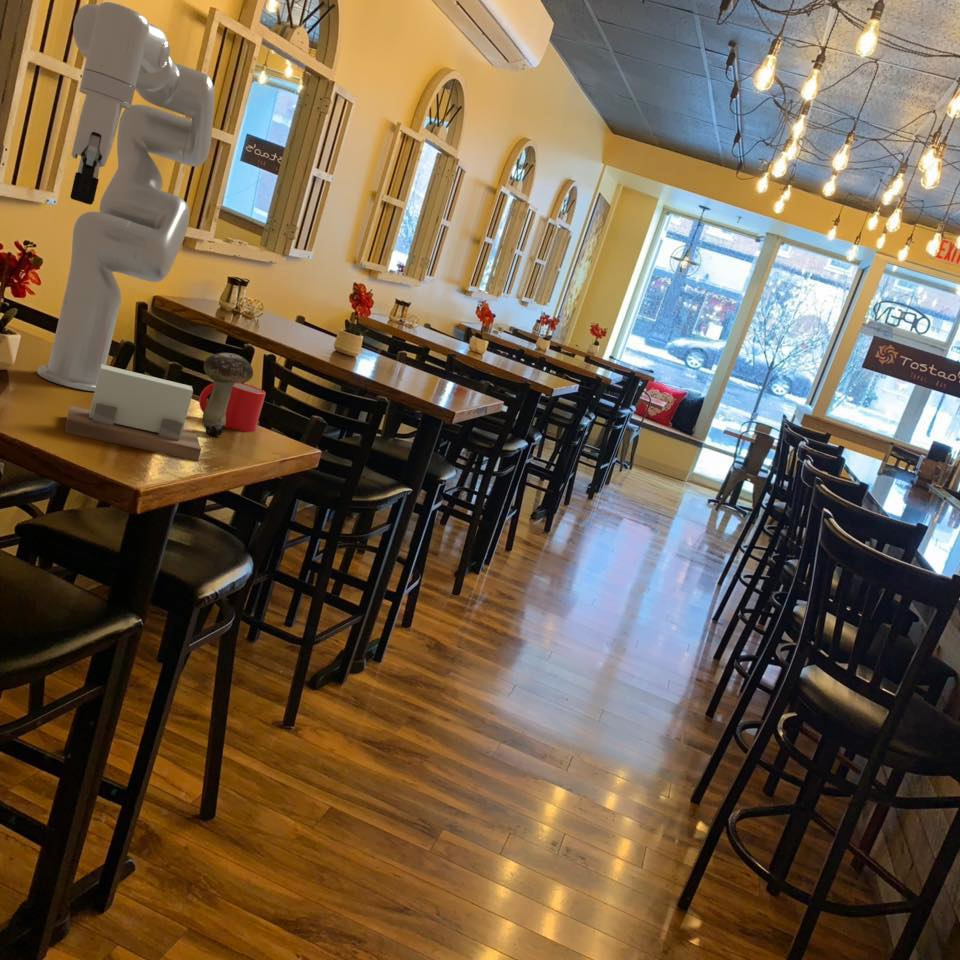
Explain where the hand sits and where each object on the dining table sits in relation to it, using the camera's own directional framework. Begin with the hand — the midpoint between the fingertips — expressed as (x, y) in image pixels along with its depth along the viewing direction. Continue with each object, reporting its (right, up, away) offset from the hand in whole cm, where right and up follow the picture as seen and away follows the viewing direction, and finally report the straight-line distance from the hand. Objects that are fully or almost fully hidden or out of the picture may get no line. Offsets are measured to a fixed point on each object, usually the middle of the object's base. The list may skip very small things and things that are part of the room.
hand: (82, 200), depth 147 cm
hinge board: (+7, -37, +3) cm, 38 cm away
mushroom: (+14, -36, +23) cm, 45 cm away
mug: (+13, -33, +35) cm, 50 cm away
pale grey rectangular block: (+8, -35, +2) cm, 36 cm away
